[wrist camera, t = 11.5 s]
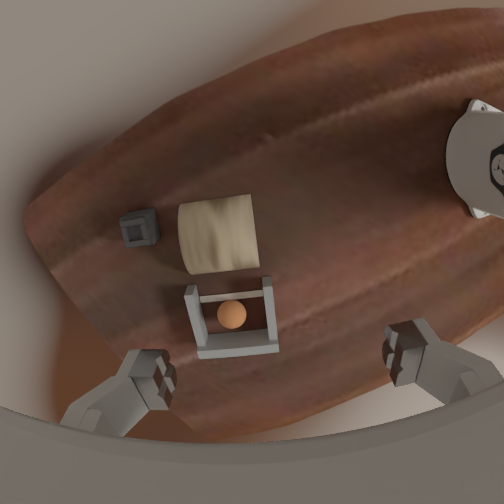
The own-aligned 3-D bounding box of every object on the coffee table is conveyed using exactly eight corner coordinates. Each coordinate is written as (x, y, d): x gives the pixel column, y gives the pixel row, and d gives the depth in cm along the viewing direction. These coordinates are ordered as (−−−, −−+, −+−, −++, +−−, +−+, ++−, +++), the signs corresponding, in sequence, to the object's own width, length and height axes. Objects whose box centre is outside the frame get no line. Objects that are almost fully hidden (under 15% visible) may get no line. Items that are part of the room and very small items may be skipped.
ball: (246, 300, 44) (242, 296, 40) (249, 327, 43) (245, 326, 39) (219, 302, 44) (212, 299, 40) (222, 329, 43) (215, 329, 39)
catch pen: (270, 275, 42) (272, 289, 38) (277, 335, 45) (279, 351, 42) (187, 285, 42) (182, 299, 38) (202, 342, 46) (199, 358, 42)
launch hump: (250, 185, 43) (250, 199, 34) (258, 250, 47) (260, 280, 37) (188, 194, 43) (172, 210, 34) (200, 257, 47) (189, 288, 38)
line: (262, 289, 42) (262, 289, 42) (263, 295, 43) (263, 296, 43) (199, 296, 43) (199, 296, 43) (200, 302, 43) (200, 302, 43)
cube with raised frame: (154, 207, 38) (145, 214, 34) (160, 236, 39) (152, 246, 36) (127, 212, 38) (116, 220, 34) (134, 240, 39) (124, 250, 36)
